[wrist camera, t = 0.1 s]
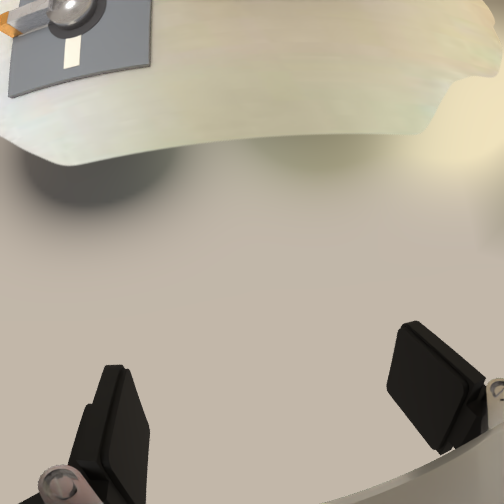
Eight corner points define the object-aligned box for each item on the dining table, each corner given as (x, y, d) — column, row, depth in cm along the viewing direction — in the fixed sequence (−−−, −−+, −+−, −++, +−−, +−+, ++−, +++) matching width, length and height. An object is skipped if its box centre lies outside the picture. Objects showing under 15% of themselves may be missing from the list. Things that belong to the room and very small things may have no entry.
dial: (99, -12, 26) (89, -29, 22) (95, 24, 28) (83, 9, 23) (16, 15, 24) (0, 3, 20) (10, 50, 26) (-7, 41, 22)
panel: (24, -3, 25) (20, -7, 23) (154, -37, 28) (153, -42, 26) (12, 98, 30) (7, 96, 28) (149, 66, 33) (148, 63, 31)
